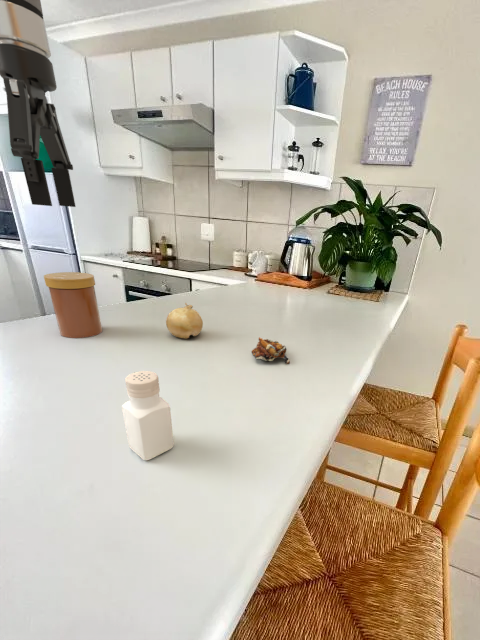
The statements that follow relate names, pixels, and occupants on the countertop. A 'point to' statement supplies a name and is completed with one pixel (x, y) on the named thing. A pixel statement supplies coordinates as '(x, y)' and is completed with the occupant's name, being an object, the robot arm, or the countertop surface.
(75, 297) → the jar
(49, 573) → the countertop surface
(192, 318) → the onion
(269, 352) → the brown lumpy piece
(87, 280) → the lid
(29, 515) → the countertop surface
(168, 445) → the salt shaker
